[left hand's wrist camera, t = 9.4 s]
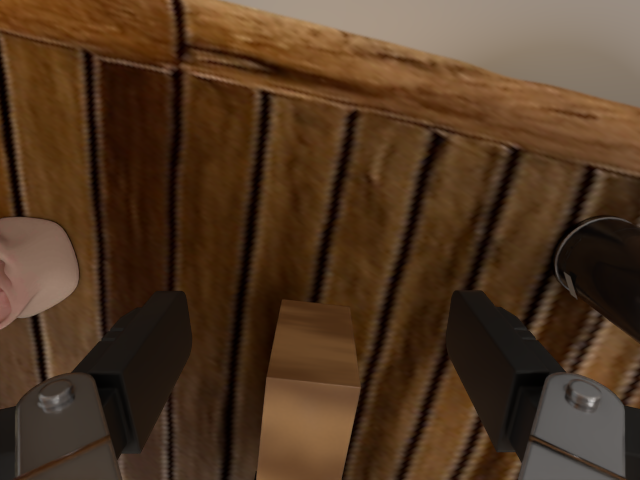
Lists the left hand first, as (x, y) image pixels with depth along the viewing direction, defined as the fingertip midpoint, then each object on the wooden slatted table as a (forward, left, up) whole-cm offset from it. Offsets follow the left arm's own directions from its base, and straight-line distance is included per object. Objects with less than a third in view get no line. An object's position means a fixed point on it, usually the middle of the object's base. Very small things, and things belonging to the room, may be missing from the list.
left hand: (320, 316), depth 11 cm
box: (-4, +23, -19) cm, 31 cm away
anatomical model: (+29, +20, -29) cm, 46 cm away
